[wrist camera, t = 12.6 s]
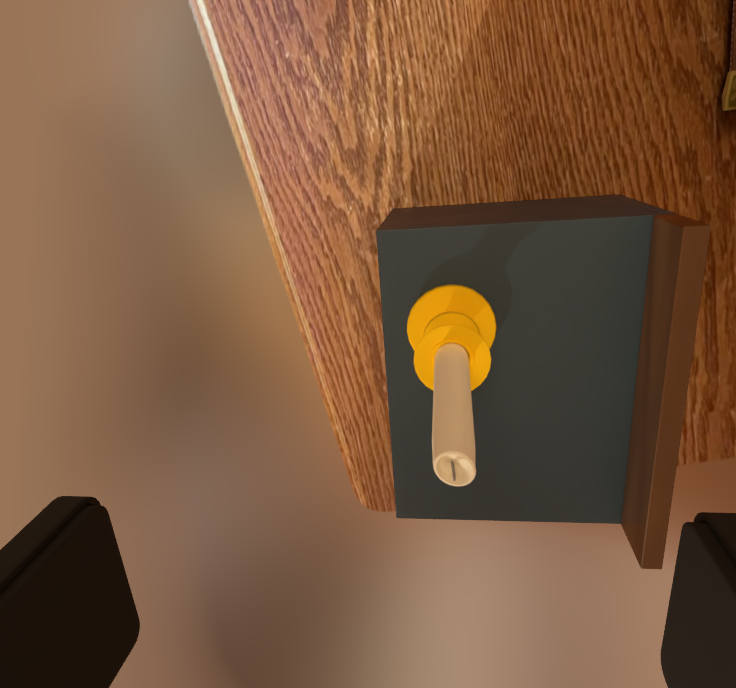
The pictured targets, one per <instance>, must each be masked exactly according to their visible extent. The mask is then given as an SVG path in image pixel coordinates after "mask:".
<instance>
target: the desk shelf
mask: <svg viewBox="0 0 736 688" xmlns="http://www.w3.org/2000/svg"><path fill="white" fill-rule="evenodd" d="M710 228H711V226H710V225H708V224H705V223H702V222H699V221H696V220H693V219H690V218H687V217H684V216H681V215H678V214H676V213H673V212H670V211H667V210H664V209H661V208H658V207H655V206H652V205H649V204H646V203H643V202H640V201H637V200H634V199H631V198H628V197H625V196H622V195H606V196H590V197H574V198H558V199H542V200H526V201H510V202H494V203H478V204H462V205H445V206H429V207H413V208H397V209H392V211H391V212H390V213H389V215H388V216H387V217H386V219H385V220H384V222H383V223H382V224H381V226H380V227H379V228H378V229H377V231H376V234H377V248H378V262H379V277H380V291H381V305H382V319H383V333H384V348H385V362H386V376H387V390H388V404H389V418H390V433H391V447H392V461H393V475H394V489H395V504H396V517H397V518H416V519H417V518H418V519H455V520H495V521H497V520H498V521H533V522H573V523H612V524H615V523H616V524H621V525H622V527H623V529H624V531H625V534H626V536H627V538H628V540H629V543H630V545H631V547H632V549H633V552H634V554H635V556H636V558H637V560H638V562H639V564H640V567H641V568H643V569H644V568H645V569H662V565H663V558H664V551H665V544H666V535H667V530H668V523H669V516H670V508H671V501H672V495H673V488H674V480H675V474H676V467H677V460H678V453H679V446H680V439H681V432H682V425H683V418H684V411H685V404H686V397H687V390H688V383H689V376H690V369H691V362H692V355H693V348H694V341H695V334H696V327H697V320H698V313H699V306H700V299H701V292H702V285H703V278H704V271H705V264H706V256H707V249H708V242H709V235H710ZM448 284H451V285H462V286H465V287H468V288H471V289H473V290H475V291H476V292H478V293H479V294H481V295H482V296H483V297H484V298H485V299H486V300H487V302H488V303H489V304H490V306H491V308H492V310H493V312H494V315H495V321H496V335H495V339H494V342H493V344H492V346H491V348H490V355H491V365H490V370H489V372H488V375H487V377H486V378H485V380H484V381H483V382H482V383H481V385H479V386H478V387H477V388H475V389H474V390H472V391H471V397H472V410H473V423H474V436H475V468H476V475H475V477H474V479H473V480H472V481H471V482H470V483H469V484H467V485H464V486H452V485H449V484H446V483H444V482H443V481H442V480H440V479H439V477H438V476H437V475H436V473H435V471H434V468H433V455H432V421H433V390H431V389H430V388H428V387H426V385H425V384H424V383H423V382H422V381H421V380H420V379H419V377H418V375H417V373H416V371H415V366H414V352H415V351H414V350H413V348H412V346H411V344H410V342H409V338H408V333H407V323H408V317H409V314H410V311H411V309H412V307H413V305H414V304H415V303H416V301H417V300H418V299H419V298H420V297H421V296H422V295H423V294H424V293H426V292H427V291H429V290H431V289H433V288H435V287H438V286H443V285H448Z"/></svg>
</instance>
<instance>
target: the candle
mask: <svg viewBox="0 0 736 688" xmlns="http://www.w3.org/2000/svg"><path fill="white" fill-rule="evenodd" d="M407 333H408V338H409V342H410V344H411V346H412V348H413V350H414V351H415V352H414V366H415V371H416V373H417V375H418V377H419V379H420V380H421V381H422V382H423V383H424V384H425V385H426V387H428V388H430V389H431V390H433V421H432V455H433V468H434V471H435V473H436V475H437V476H438V477H439V479H440V480H442V481H443V482H444V483H446V484H449V485H452V486H464V485H467V484H469V483H470V482H471V481H472V480H473V479H474V477H475V475H476V468H475V436H474V423H473V410H472V397H471V391H472V390H474V389H475V388H477V387H478V386H479V385H481V383H482V382H483V381H484V380H485V378H486V377H487V375H488V372H489V370H490V365H491V355H490V348H491V346H492V344H493V342H494V339H495V335H496V321H495V315H494V312H493V310H492V308H491V306H490V304H489V303H488V302H487V300H486V299H485V298H484V297H483V296H482V295H481V294H479V293H478V292H476V291H475V290H473V289H471V288H468V287H465V286H462V285H451V284H448V285H443V286H438V287H435V288H433V289H431V290H429V291H427V292H426V293H424V294H423V295H422V296H421V297H420V298H419V299H418V300H417V301H416V303H415V304H414V305H413V307H412V309H411V311H410V314H409V317H408V323H407Z"/></svg>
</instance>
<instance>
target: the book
mask: <svg viewBox="0 0 736 688" xmlns="http://www.w3.org/2000/svg"><path fill="white" fill-rule="evenodd" d="M722 107H723V111H727V110H734V109H736V0H733V16H732V35H731V54H730V72H728V75H727V79H726V82H725V86H724V90H723V94H722Z"/></svg>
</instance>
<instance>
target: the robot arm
mask: <svg viewBox="0 0 736 688" xmlns="http://www.w3.org/2000/svg"><path fill="white" fill-rule="evenodd" d="M139 628H140V622H139V617H138V614H137V610H136V607H135V603H134V600H133V597H132V593H131V590H130V586H129V583H128V579H127V576H126V573H125V569H124V566H123V562H122V559H121V555H120V552H119V548H118V545H117V542H116V538H115V534H114V531H113V527H112V524H111V521H110V517H109V514H108V511H107V510H106V508H105V507H104V506H101V505H100V503H99V501H98V500H97V499H96V498H93V497H78V496H77V497H76V496H62V497H58V498H56V499H55V500H53V501H52V502H51V503H50V504H49V505H48V506H47V507H46V508H44V509H43V510H42V511H41V512H40V513H39V514H38V515H37V516H36V517H35V518H34V519H33V520H32V521H31V522H30V523H29V524H27V525H26V526H25V527H24V528H23V529H22V530H21V531H20V532H19V533H18V534H17V535H16V536H15V537H14V538H13V539H12V540H11V541H10V542H8V543H7V544H6V545H5V546H4V547H3V548H2V549H1V550H0V688H109V686H110V685H111V683H112V682H113V680H114V678H115V677H116V675H117V673H118V672H119V670H120V668H121V667H122V665H123V663H124V662H125V660H126V658H127V657H128V655H129V653H130V652H131V650H132V648H133V647H134V645H135V643H136V641H137V638H138V635H139ZM661 665H662V670H663V674H664V677H665V681H666V683H667V686H668V688H736V513H705V512H702V513H698V514H697V515H696V517H695V519H694V522H686V523H685V524H684V525H683V527H682V531H681V537H680V542H679V548H678V555H677V560H676V566H675V572H674V578H673V584H672V590H671V595H670V601H669V607H668V613H667V619H666V625H665V631H664V636H663V642H662V648H661Z"/></svg>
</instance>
